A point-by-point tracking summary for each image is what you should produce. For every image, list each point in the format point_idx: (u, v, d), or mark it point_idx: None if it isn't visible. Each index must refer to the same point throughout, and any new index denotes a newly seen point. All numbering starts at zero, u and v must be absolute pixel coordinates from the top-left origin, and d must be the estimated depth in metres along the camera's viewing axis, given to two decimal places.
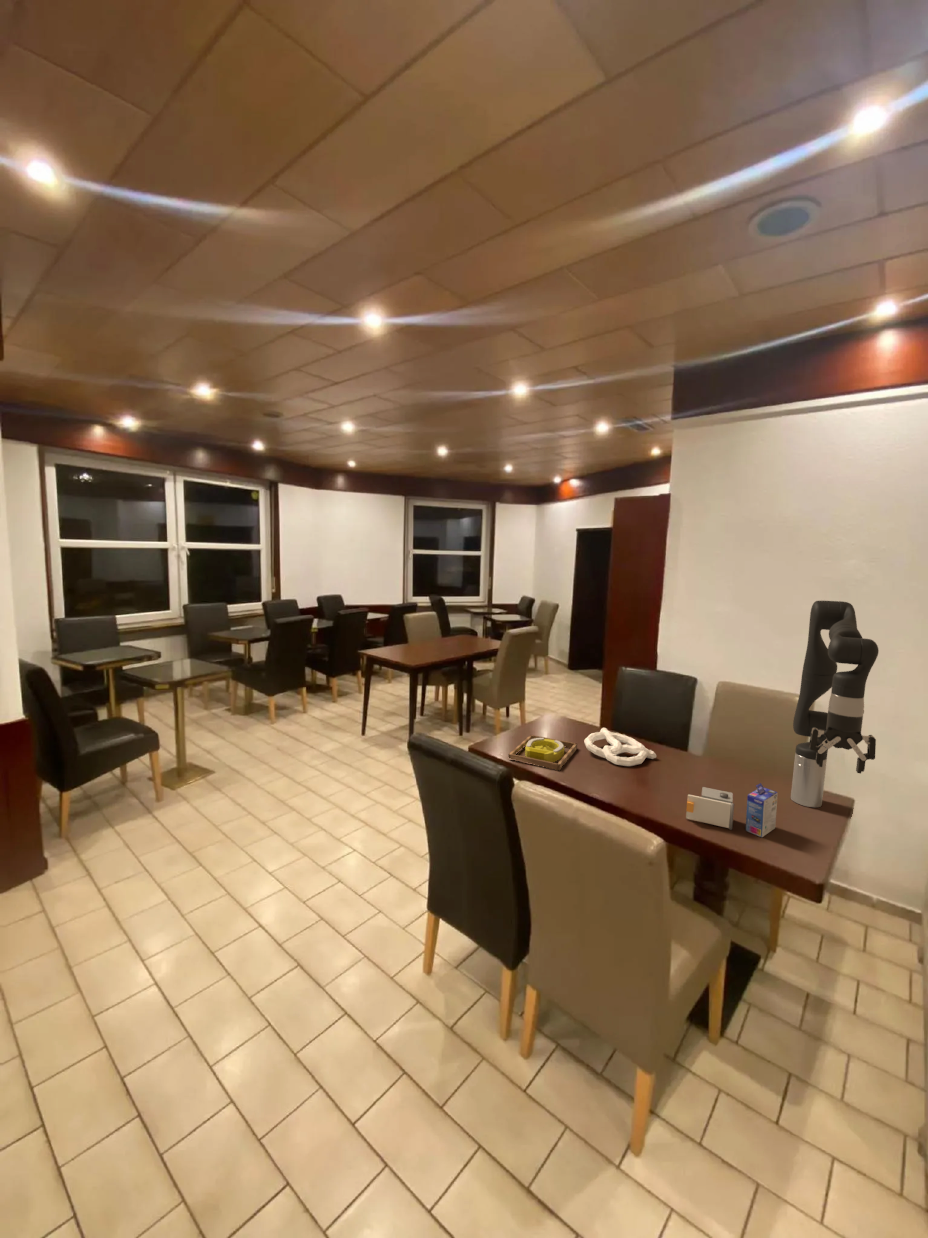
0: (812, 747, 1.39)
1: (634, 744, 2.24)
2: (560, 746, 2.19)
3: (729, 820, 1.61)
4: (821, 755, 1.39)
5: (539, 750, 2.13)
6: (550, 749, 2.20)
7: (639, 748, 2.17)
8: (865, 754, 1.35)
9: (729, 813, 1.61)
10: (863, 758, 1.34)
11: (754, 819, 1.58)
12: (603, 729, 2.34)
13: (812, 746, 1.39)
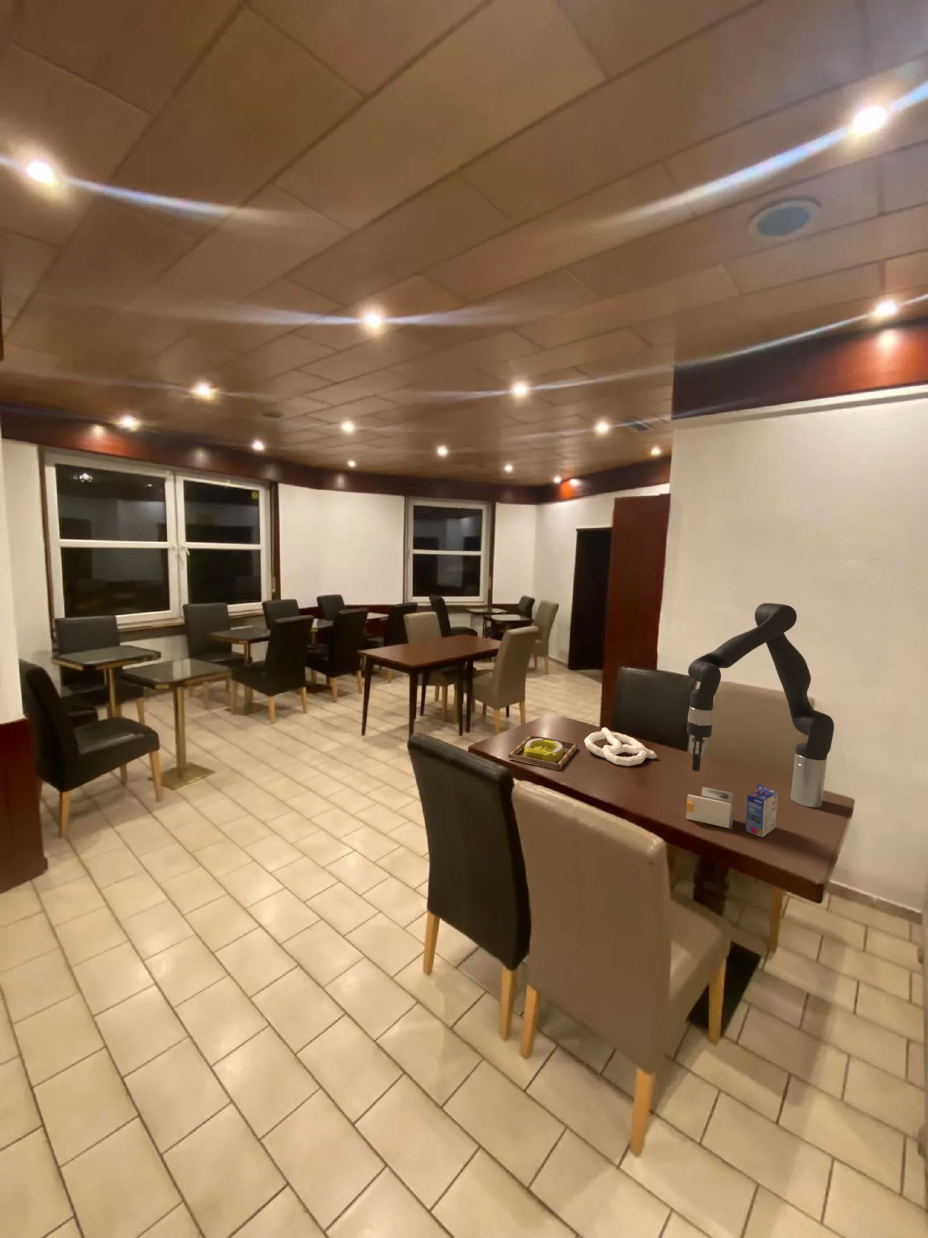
0: (700, 759, 1.68)
1: (634, 744, 2.24)
2: (559, 747, 2.18)
3: (729, 820, 1.61)
4: None
5: (538, 751, 2.12)
6: (549, 750, 2.19)
7: (639, 748, 2.17)
8: None
9: (729, 813, 1.61)
10: (701, 757, 1.71)
11: (754, 819, 1.58)
12: (604, 729, 2.35)
13: (700, 758, 1.68)
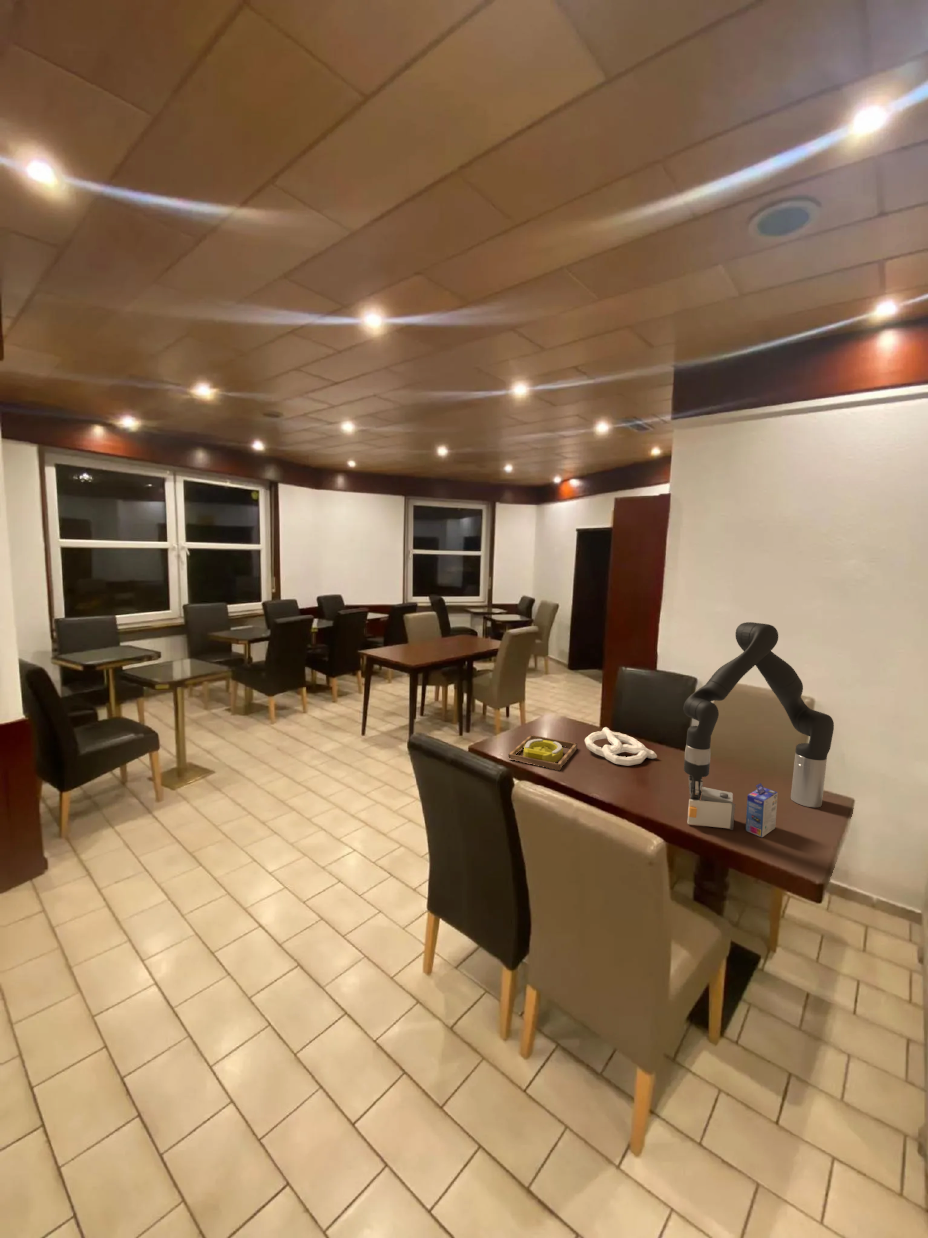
0: (699, 799, 1.63)
1: (635, 744, 2.24)
2: (559, 747, 2.18)
3: (730, 820, 1.61)
4: None
5: (537, 751, 2.11)
6: (549, 750, 2.18)
7: (639, 748, 2.18)
8: None
9: (730, 813, 1.61)
10: None
11: (754, 819, 1.58)
12: (605, 728, 2.35)
13: (699, 797, 1.63)
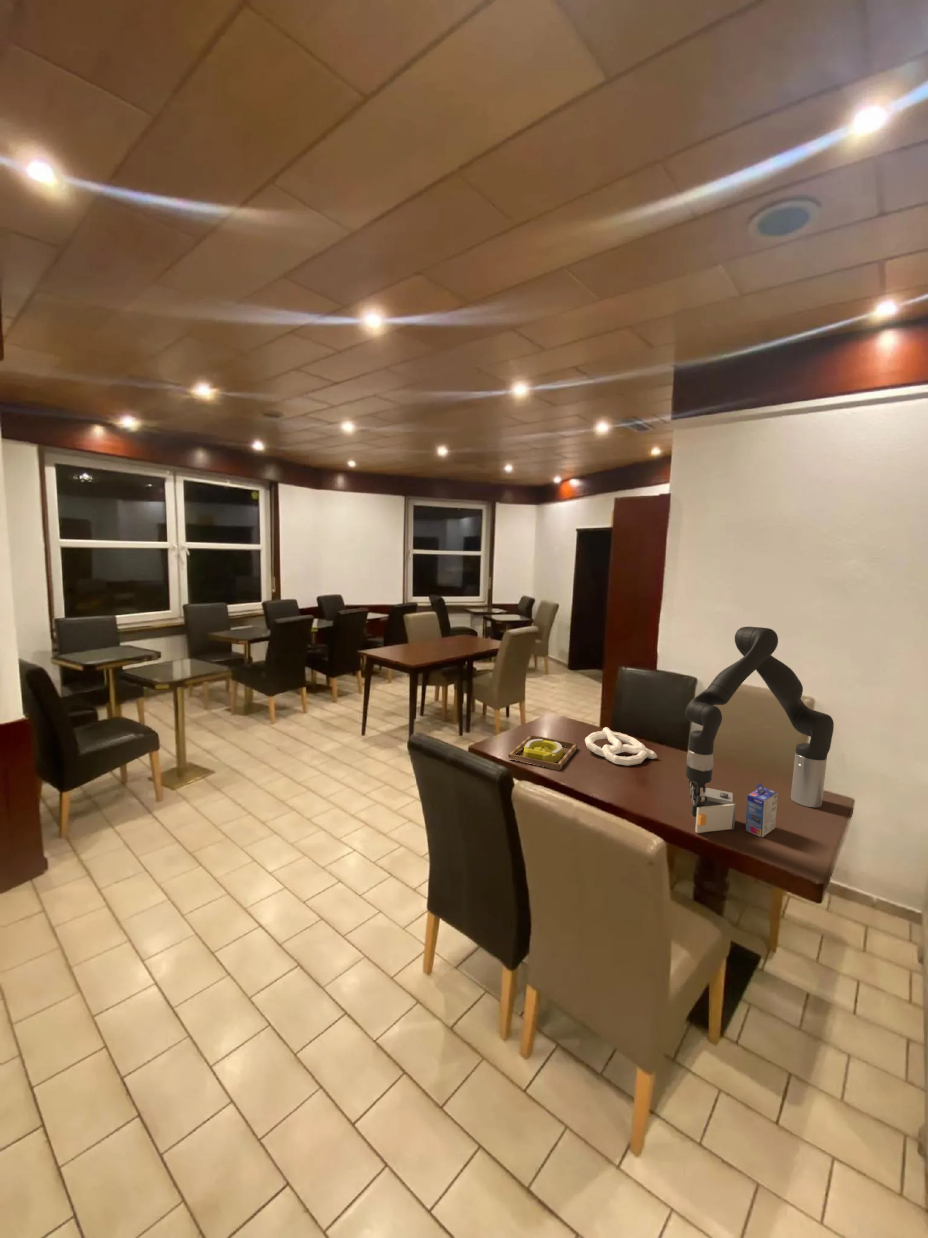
0: (703, 805, 1.59)
1: (635, 744, 2.24)
2: (559, 747, 2.17)
3: (732, 821, 1.61)
4: None
5: (537, 751, 2.11)
6: (549, 750, 2.18)
7: (639, 748, 2.18)
8: None
9: (732, 814, 1.60)
10: None
11: (754, 819, 1.58)
12: (605, 728, 2.35)
13: None
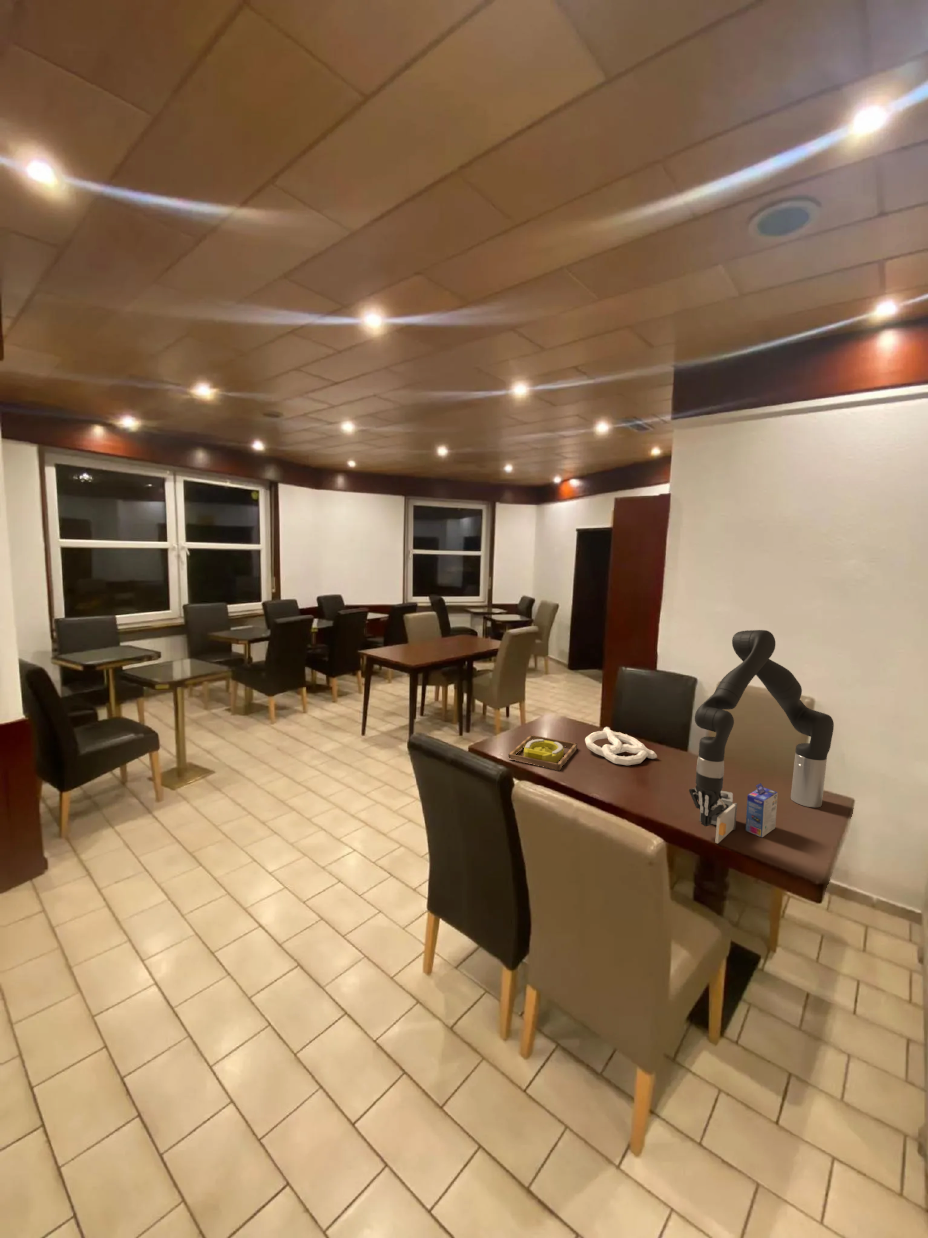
0: None
1: (635, 744, 2.24)
2: (559, 748, 2.17)
3: (734, 821, 1.61)
4: None
5: (537, 751, 2.11)
6: (549, 751, 2.18)
7: (639, 748, 2.18)
8: None
9: (734, 814, 1.60)
10: None
11: (754, 819, 1.58)
12: (606, 728, 2.35)
13: None
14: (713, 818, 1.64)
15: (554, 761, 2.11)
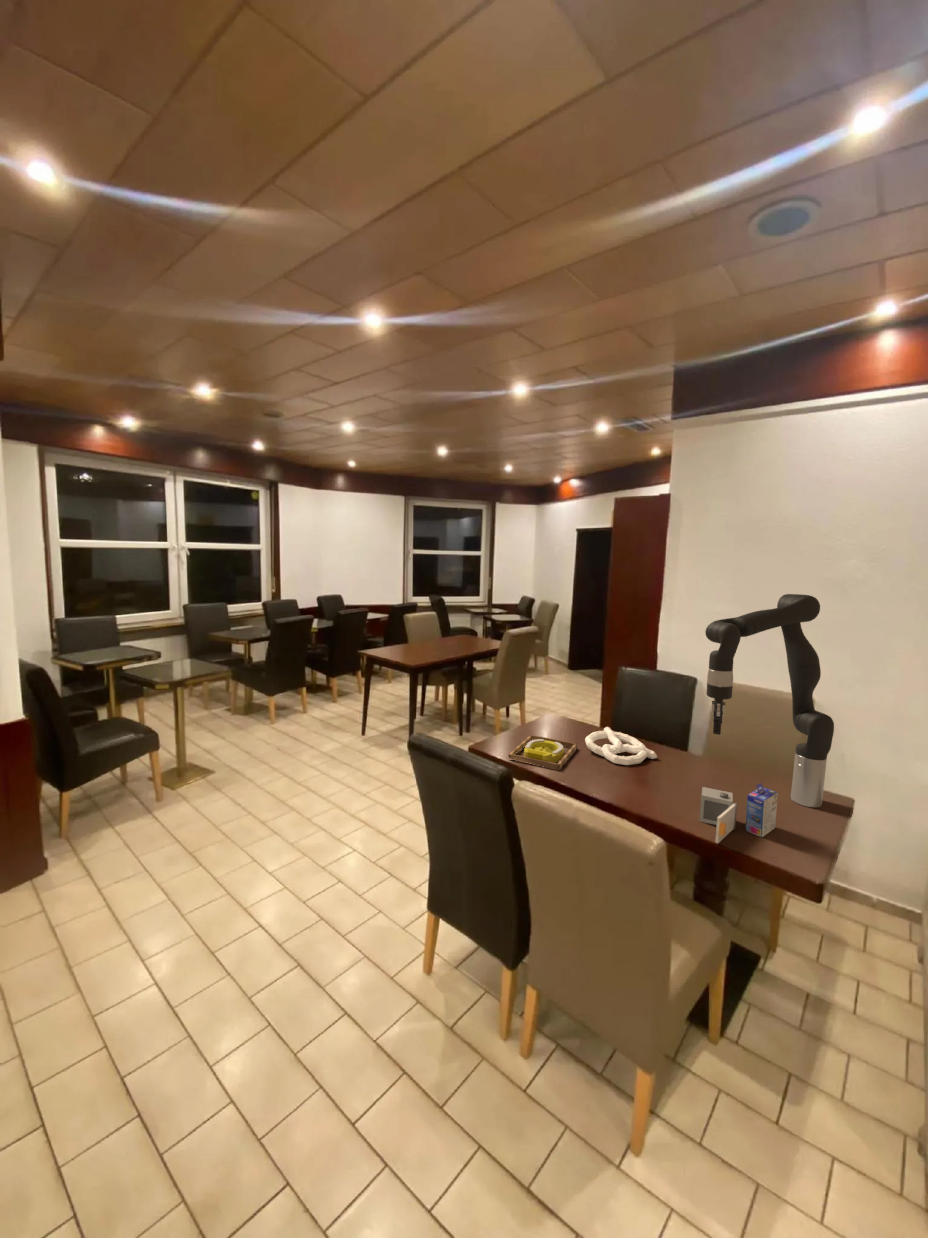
0: (721, 721, 1.65)
1: (635, 744, 2.24)
2: (560, 748, 2.17)
3: (734, 821, 1.61)
4: (720, 724, 1.67)
5: (538, 751, 2.11)
6: (549, 751, 2.18)
7: (639, 748, 2.18)
8: None
9: (734, 814, 1.60)
10: None
11: (754, 819, 1.58)
12: (606, 728, 2.36)
13: (721, 720, 1.65)
14: (713, 818, 1.64)
15: (554, 761, 2.11)
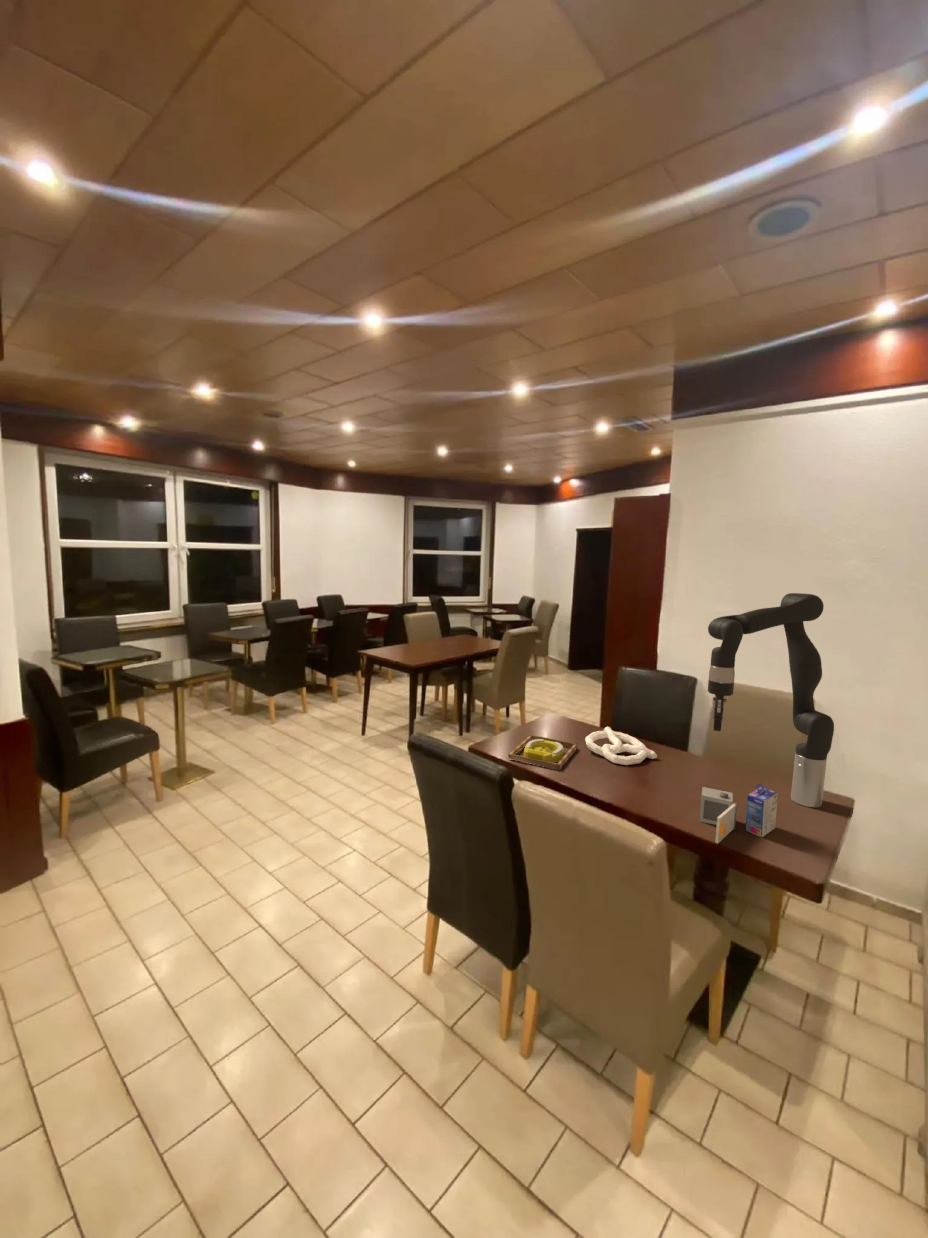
0: (722, 718, 1.65)
1: (636, 744, 2.24)
2: (559, 748, 2.17)
3: (734, 821, 1.61)
4: (721, 721, 1.67)
5: (537, 752, 2.11)
6: (549, 751, 2.18)
7: (639, 748, 2.18)
8: None
9: (734, 814, 1.60)
10: (722, 717, 1.68)
11: (754, 819, 1.58)
12: (606, 728, 2.36)
13: (722, 716, 1.65)
14: (713, 818, 1.64)
15: (554, 761, 2.11)
